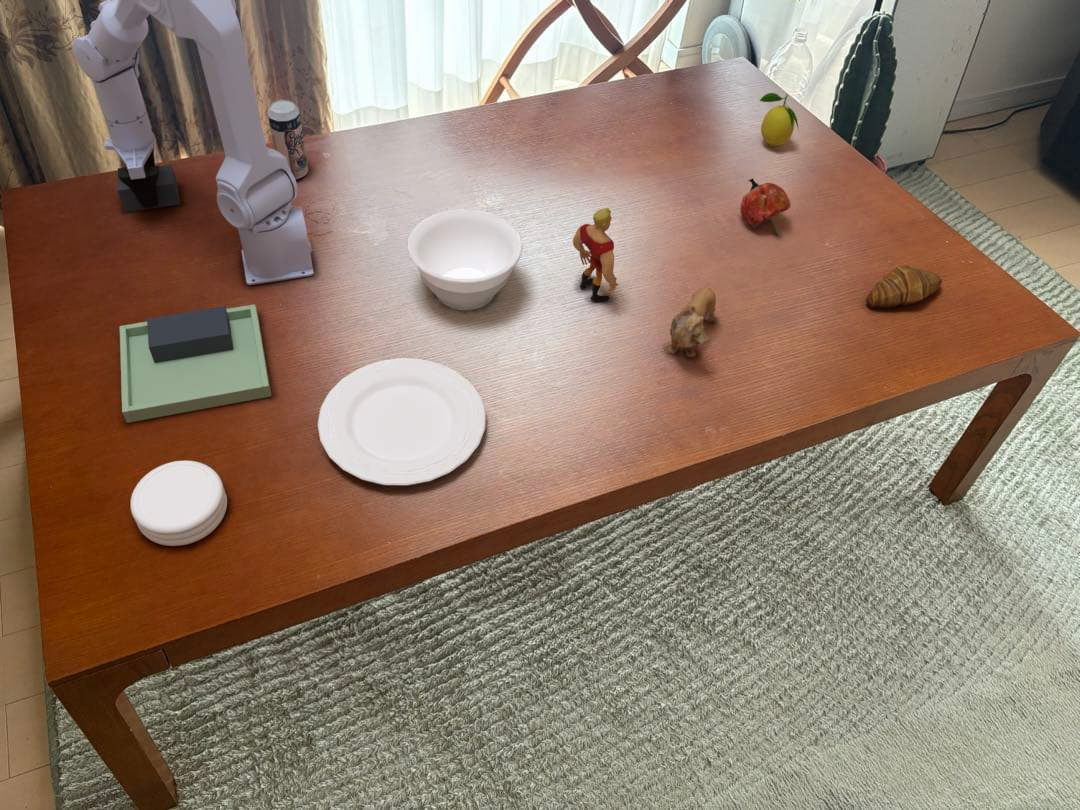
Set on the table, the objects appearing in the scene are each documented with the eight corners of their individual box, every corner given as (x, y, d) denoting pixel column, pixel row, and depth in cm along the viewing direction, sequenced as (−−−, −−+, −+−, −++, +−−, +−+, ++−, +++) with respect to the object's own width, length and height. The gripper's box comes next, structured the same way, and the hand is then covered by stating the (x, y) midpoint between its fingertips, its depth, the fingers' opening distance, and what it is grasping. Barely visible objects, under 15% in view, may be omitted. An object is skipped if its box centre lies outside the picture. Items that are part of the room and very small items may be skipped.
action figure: (621, 308, 134) (635, 224, 122) (600, 316, 132) (613, 232, 121) (585, 269, 139) (595, 186, 127) (565, 277, 137) (574, 193, 126)
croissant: (920, 271, 143) (933, 246, 139) (950, 299, 139) (964, 274, 135) (851, 293, 139) (861, 267, 135) (879, 322, 135) (891, 297, 131)
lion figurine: (697, 379, 125) (710, 331, 118) (659, 369, 126) (670, 321, 119) (717, 309, 135) (730, 262, 128) (681, 300, 135) (692, 252, 129)
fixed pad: (229, 322, 126) (225, 305, 124) (233, 349, 123) (229, 333, 121) (152, 334, 124) (146, 318, 122) (154, 363, 121) (148, 347, 118)
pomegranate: (785, 234, 151) (763, 177, 150) (809, 222, 144) (785, 162, 143) (747, 249, 149) (724, 191, 149) (769, 238, 142) (745, 177, 142)
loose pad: (177, 186, 146) (171, 164, 143) (179, 204, 143) (173, 183, 140) (124, 192, 144) (116, 171, 141) (125, 212, 141) (117, 190, 138)
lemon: (750, 134, 166) (763, 83, 158) (782, 134, 166) (796, 83, 159) (760, 156, 161) (774, 104, 154) (792, 155, 162) (808, 104, 154)
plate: (345, 515, 108) (343, 506, 106) (301, 390, 120) (299, 380, 118) (510, 464, 114) (511, 454, 112) (452, 350, 126) (452, 340, 125)
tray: (258, 315, 128) (255, 304, 127) (271, 396, 119) (268, 385, 117) (123, 337, 124) (119, 325, 123) (126, 423, 115) (121, 412, 113)
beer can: (302, 183, 149) (291, 117, 140) (274, 178, 149) (261, 112, 140) (313, 167, 152) (303, 101, 143) (285, 162, 152) (273, 96, 143)
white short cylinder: (118, 530, 104) (109, 512, 102) (172, 465, 111) (165, 447, 108) (194, 560, 103) (187, 543, 100) (244, 492, 109) (239, 474, 106)
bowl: (387, 288, 133) (382, 241, 127) (466, 240, 142) (466, 194, 135) (464, 345, 127) (463, 298, 120) (542, 291, 135) (546, 245, 129)
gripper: (94, 89, 136) (121, 167, 146) (95, 144, 127) (123, 223, 137) (145, 84, 138) (167, 161, 148) (149, 137, 129) (172, 216, 139)
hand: (149, 191), depth 143 cm, fingers open, 7 cm apart
